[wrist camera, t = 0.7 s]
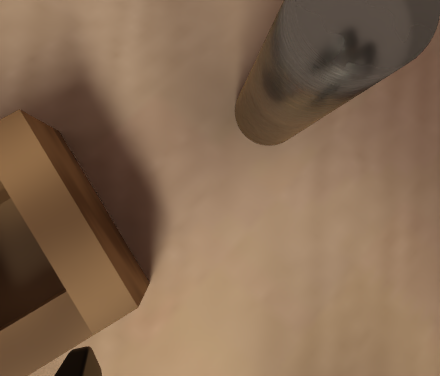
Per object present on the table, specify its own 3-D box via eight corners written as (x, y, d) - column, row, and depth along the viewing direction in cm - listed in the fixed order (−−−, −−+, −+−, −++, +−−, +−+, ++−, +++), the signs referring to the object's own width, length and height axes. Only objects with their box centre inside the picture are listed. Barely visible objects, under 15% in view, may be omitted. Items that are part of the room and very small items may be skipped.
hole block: (149, 283, 21) (138, 307, 16) (-12, 381, 21) (-76, 439, 16) (58, 131, 21) (19, 109, 16) (-108, 223, 20) (-203, 229, 15)
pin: (313, 124, 23) (467, 28, 10) (257, 157, 22) (344, 100, 10) (279, 66, 23) (392, -101, 10) (222, 99, 22) (266, -33, 10)
